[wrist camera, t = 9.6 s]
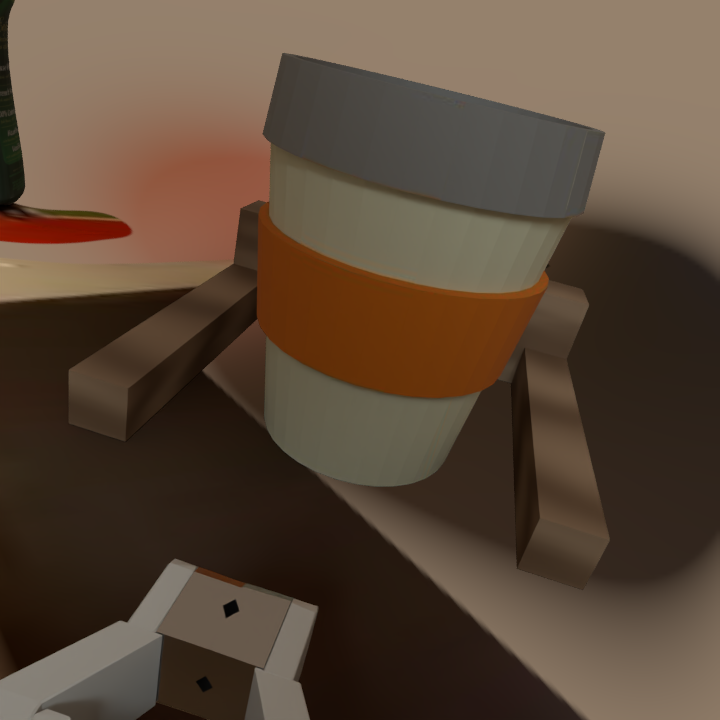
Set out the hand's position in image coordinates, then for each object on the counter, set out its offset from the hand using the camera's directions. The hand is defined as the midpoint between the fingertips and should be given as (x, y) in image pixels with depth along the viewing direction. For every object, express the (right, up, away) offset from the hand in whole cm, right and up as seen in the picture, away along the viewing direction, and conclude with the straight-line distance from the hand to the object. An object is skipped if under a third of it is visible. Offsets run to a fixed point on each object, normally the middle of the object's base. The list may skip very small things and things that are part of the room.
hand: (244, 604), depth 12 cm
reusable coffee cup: (+2, +1, +17) cm, 17 cm away
